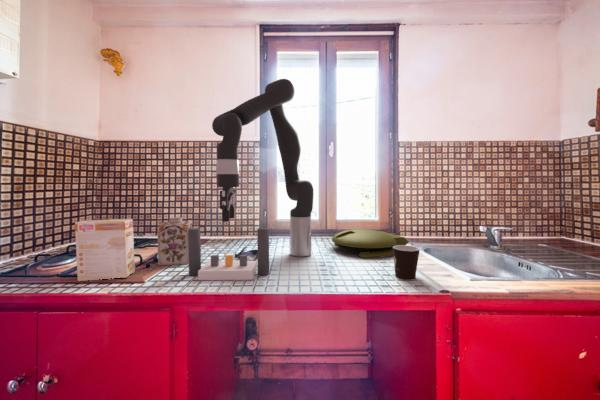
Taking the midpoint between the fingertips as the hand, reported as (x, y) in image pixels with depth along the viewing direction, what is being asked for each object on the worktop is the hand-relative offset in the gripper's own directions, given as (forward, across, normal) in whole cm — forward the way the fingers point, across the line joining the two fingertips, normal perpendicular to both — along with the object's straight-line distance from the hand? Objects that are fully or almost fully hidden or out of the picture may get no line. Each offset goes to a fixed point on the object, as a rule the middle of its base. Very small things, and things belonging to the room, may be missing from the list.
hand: (228, 219), depth 99 cm
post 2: (+19, 0, -12) cm, 23 cm away
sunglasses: (+20, +22, -3) cm, 30 cm away
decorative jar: (+20, +17, +25) cm, 36 cm away
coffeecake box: (+19, -2, +41) cm, 45 cm away
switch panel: (+19, 0, 0) cm, 19 cm away
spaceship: (+20, +36, -59) cm, 72 cm away
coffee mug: (+20, -3, -62) cm, 65 cm away
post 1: (+19, 0, +12) cm, 23 cm away
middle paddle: (+16, 0, 0) cm, 16 cm away
